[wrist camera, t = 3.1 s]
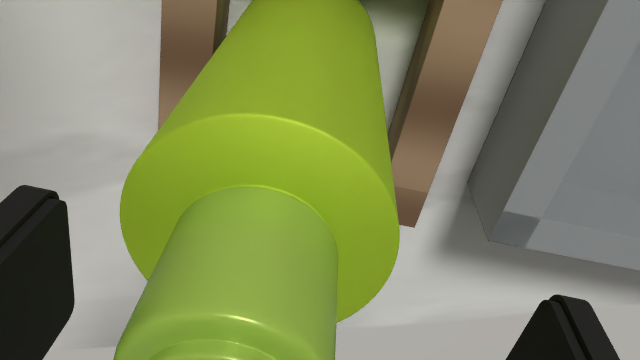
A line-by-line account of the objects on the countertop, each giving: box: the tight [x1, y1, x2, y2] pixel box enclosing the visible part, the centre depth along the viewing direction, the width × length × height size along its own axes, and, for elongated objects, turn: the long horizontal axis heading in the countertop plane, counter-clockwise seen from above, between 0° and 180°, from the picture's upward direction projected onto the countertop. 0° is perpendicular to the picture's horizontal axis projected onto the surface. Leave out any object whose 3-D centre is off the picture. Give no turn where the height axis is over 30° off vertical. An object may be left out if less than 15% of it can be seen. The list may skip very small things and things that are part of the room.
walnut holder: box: [158, 0, 503, 228], centre depth 20 cm, size 13×12×2 cm
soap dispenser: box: [114, 0, 399, 360], centre depth 13 cm, size 6×7×20 cm
